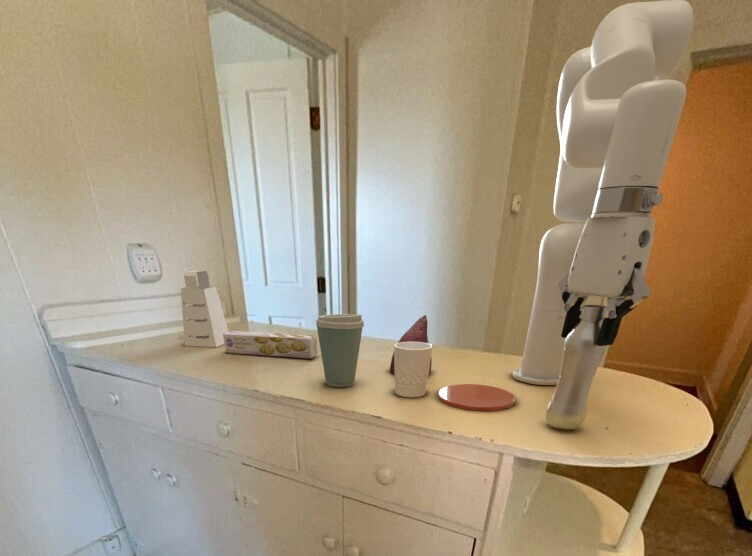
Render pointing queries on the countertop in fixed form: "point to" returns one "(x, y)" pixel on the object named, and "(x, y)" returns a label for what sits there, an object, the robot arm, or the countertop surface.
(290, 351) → the box
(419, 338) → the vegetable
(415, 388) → the white cup
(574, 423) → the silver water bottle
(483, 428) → the countertop surface
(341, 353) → the disposable coffee cup
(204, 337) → the grater
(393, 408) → the countertop surface
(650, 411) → the countertop surface
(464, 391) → the plate
